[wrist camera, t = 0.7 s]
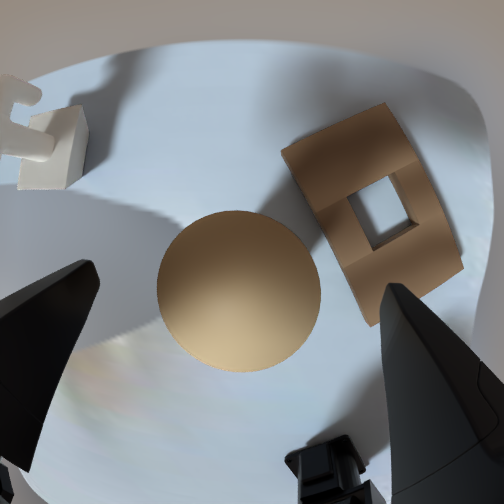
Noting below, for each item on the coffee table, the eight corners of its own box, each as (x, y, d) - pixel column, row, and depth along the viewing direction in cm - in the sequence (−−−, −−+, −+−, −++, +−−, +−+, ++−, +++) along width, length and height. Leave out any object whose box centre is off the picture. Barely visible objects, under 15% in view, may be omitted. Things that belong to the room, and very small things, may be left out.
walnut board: (454, 266, 20) (463, 268, 18) (365, 321, 21) (370, 327, 19) (379, 109, 19) (384, 102, 18) (281, 155, 21) (280, 150, 19)
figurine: (106, 106, 22) (-11, 38, 7) (89, 205, 23) (-56, 195, 8) (56, 115, 23) (-51, 73, 8) (40, 203, 24) (-81, 197, 9)
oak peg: (312, 270, 21) (348, 331, 8) (251, 301, 22) (206, 392, 9) (280, 209, 21) (270, 178, 8) (219, 241, 22) (130, 259, 9)
